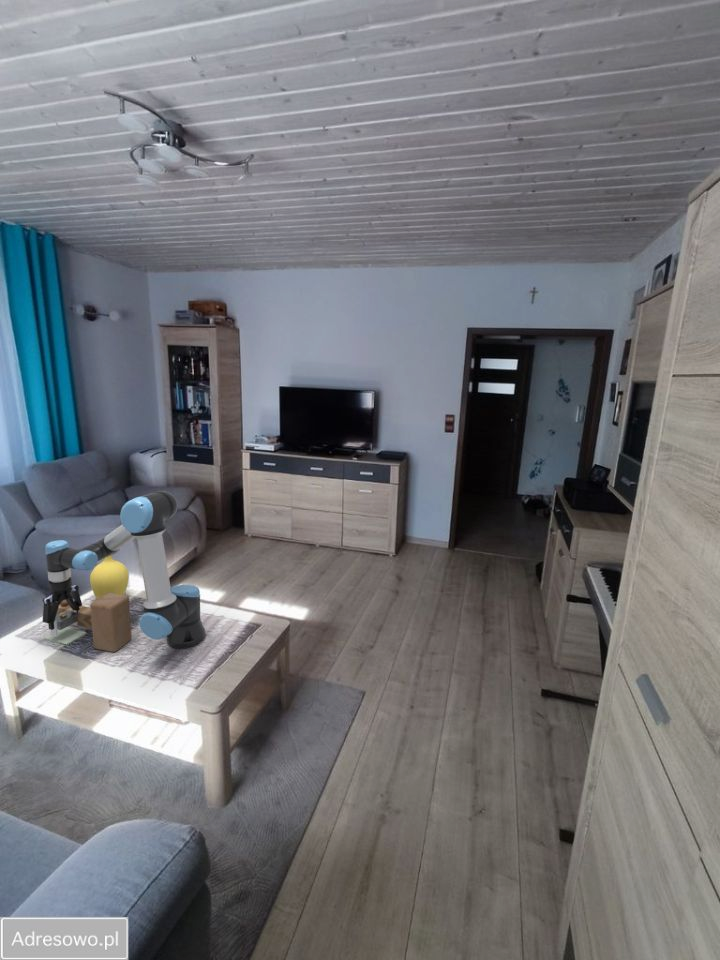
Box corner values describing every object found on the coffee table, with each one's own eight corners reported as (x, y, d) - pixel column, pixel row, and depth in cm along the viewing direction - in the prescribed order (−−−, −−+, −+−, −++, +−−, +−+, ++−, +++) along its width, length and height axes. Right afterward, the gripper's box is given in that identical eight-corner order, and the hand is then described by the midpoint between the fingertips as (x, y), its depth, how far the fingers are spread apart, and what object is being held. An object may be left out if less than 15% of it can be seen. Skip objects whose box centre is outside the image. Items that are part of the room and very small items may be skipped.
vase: (83, 605, 202) (78, 549, 196) (108, 590, 217) (104, 538, 211) (114, 610, 199) (110, 553, 194) (137, 594, 215) (134, 541, 209)
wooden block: (114, 653, 168) (111, 607, 164) (92, 649, 170) (88, 603, 166) (132, 639, 178) (129, 595, 174) (111, 635, 180) (108, 591, 175)
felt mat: (86, 633, 180) (86, 632, 180) (66, 645, 172) (66, 644, 171) (64, 627, 183) (64, 626, 183) (43, 639, 175) (43, 637, 175)
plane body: (111, 626, 186) (109, 599, 183) (100, 633, 181) (98, 604, 178) (64, 615, 193) (62, 588, 190) (53, 621, 188) (50, 593, 185)
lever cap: (78, 620, 179) (77, 610, 178) (60, 630, 172) (59, 619, 171) (67, 617, 181) (66, 607, 180) (49, 627, 173) (48, 616, 172)
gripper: (76, 567, 183) (80, 615, 188) (26, 587, 163) (32, 641, 168) (90, 570, 181) (93, 619, 186) (41, 591, 161) (47, 645, 166)
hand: (64, 629), depth 177 cm, fingers closed on lever cap, 8 cm apart
